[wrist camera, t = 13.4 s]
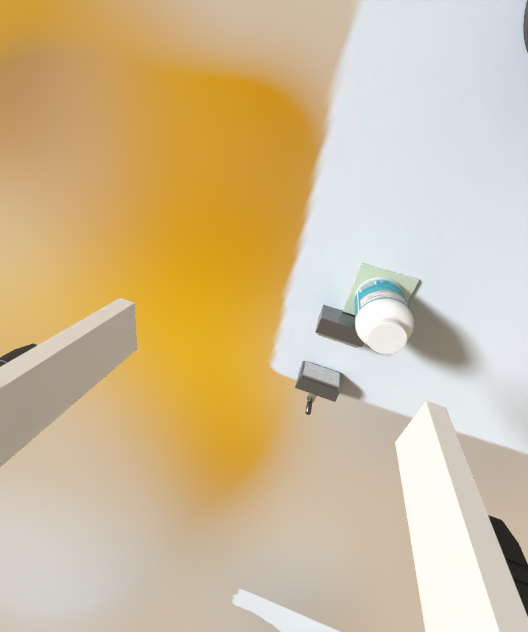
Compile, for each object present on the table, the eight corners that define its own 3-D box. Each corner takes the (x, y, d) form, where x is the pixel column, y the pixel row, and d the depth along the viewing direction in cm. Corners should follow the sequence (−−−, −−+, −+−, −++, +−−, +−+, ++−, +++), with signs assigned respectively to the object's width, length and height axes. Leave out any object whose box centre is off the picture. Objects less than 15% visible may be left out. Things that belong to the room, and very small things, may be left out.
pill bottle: (387, 322, 48) (398, 372, 36) (346, 305, 48) (345, 349, 37) (412, 285, 44) (433, 328, 32) (367, 267, 44) (373, 303, 33)
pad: (362, 263, 45) (362, 264, 44) (418, 278, 44) (419, 280, 43) (342, 309, 49) (342, 311, 49) (393, 325, 48) (393, 327, 48)
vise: (323, 302, 51) (320, 320, 45) (367, 315, 50) (369, 336, 44) (294, 384, 62) (288, 407, 56) (329, 396, 61) (326, 421, 55)
